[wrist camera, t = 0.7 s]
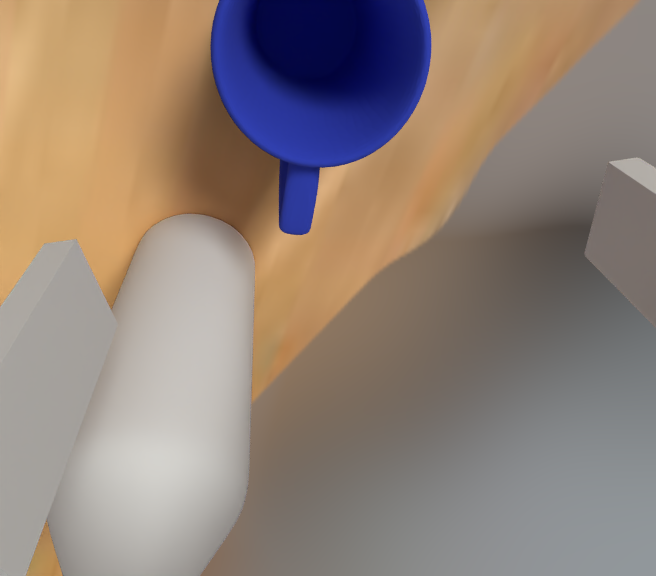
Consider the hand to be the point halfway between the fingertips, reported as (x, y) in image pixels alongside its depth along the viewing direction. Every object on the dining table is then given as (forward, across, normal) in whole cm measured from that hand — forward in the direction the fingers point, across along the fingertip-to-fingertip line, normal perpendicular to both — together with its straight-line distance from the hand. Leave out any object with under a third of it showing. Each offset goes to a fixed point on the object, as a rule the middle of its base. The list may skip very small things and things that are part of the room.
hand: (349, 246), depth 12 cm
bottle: (+19, -9, -11) cm, 24 cm away
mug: (+19, 0, 0) cm, 19 cm away
